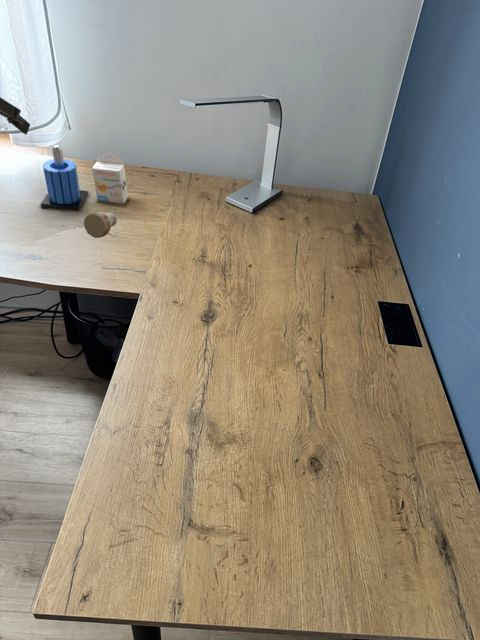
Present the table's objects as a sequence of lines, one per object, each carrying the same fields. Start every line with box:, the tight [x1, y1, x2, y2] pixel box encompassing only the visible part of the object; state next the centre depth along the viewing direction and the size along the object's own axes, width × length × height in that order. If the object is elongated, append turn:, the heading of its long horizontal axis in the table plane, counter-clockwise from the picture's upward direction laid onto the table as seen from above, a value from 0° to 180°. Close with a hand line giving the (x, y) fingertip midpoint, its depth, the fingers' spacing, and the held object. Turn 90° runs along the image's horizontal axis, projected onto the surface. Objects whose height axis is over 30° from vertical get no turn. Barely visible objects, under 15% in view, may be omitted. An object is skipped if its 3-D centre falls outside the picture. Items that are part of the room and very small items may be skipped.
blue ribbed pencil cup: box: [42, 158, 81, 204], centre depth 151 cm, size 9×9×10 cm
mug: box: [83, 211, 118, 239], centre depth 143 cm, size 8×10×10 cm
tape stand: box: [40, 144, 89, 211], centre depth 149 cm, size 11×11×17 cm
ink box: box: [91, 151, 129, 204], centre depth 153 cm, size 8×5×15 cm, turn 84°
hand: (4, 122), depth 124 cm, fingers open, 13 cm apart
